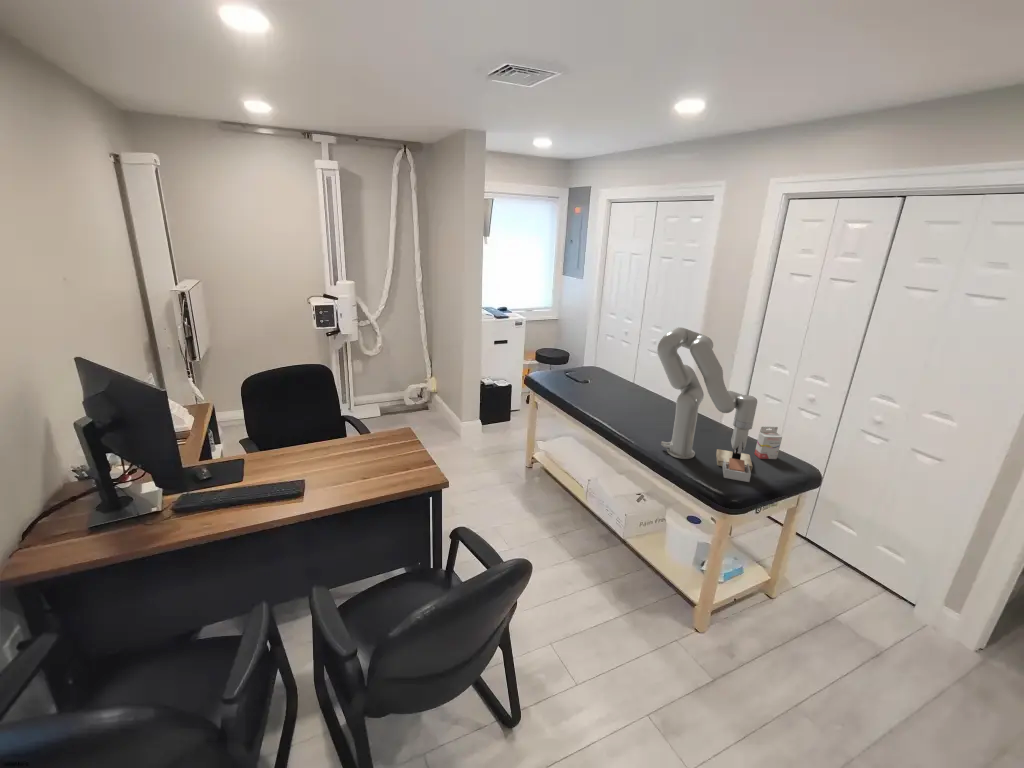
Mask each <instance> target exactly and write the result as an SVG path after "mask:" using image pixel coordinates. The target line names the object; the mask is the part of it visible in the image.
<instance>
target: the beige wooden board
mask: <svg viewBox="0 0 1024 768" xmlns="http://www.w3.org/2000/svg"><path fill="white" fill-rule="evenodd" d="M732 454H733V451H731V450H725V449H719V448H718V449H717V448H716V452H715V456H716V464H717V466H718V467H719V466H720V467H722V466H723V461H724V460H725V463H728V464H729V458H732ZM740 460H744V462H745V466H746V467H747V464H749V468H750V472H752V470H753V463H752V459H751V455H750V454H748V453H744V452H741V458H740Z"/></svg>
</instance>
